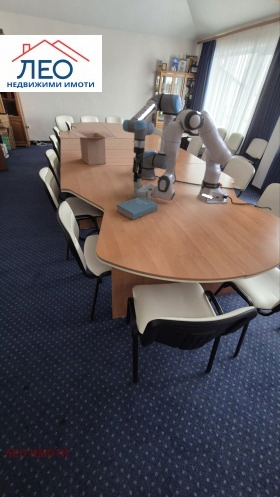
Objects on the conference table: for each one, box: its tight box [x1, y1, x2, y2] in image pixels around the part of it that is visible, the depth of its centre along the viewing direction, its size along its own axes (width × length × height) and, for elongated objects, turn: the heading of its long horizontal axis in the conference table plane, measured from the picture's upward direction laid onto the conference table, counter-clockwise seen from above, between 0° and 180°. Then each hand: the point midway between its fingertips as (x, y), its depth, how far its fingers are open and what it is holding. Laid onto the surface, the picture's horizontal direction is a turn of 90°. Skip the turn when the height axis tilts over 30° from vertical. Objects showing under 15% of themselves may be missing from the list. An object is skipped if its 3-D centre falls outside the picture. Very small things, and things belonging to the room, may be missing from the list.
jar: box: [132, 179, 142, 198], centre depth 165 cm, size 5×5×16 cm
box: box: [70, 129, 114, 166], centre depth 229 cm, size 44×36×27 cm
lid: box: [132, 172, 142, 180], centre depth 161 cm, size 6×6×2 cm
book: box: [116, 196, 159, 221], centre depth 148 cm, size 23×16×5 cm
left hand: (137, 179), depth 162 cm, fingers open, 8 cm apart
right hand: (135, 187), depth 166 cm, fingers closed on jar, 5 cm apart
